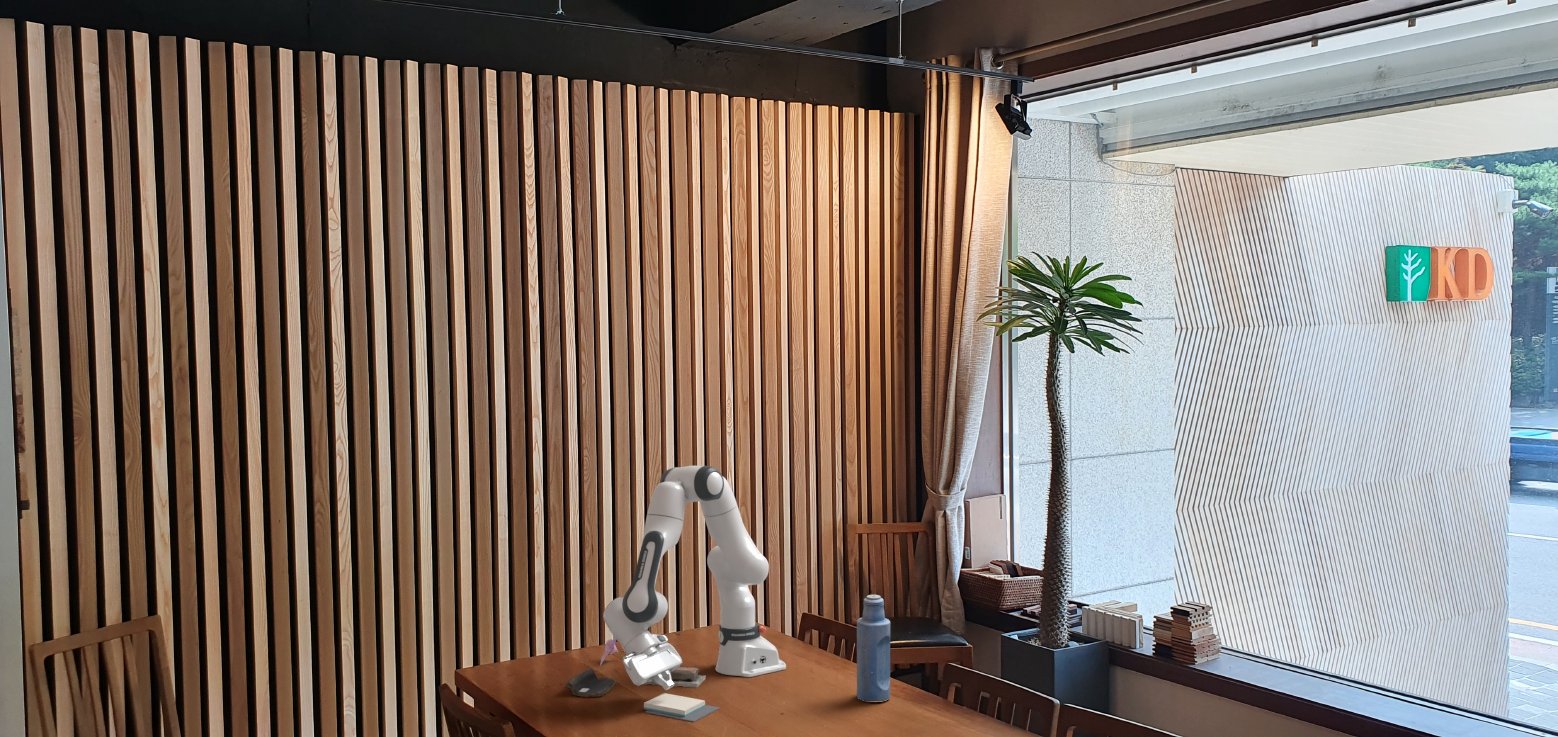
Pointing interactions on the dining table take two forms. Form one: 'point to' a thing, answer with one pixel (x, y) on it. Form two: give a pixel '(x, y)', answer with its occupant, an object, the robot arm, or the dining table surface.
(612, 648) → the lily
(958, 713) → the dining table surface
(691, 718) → the mat
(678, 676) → the packaged product
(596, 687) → the pottery fragment
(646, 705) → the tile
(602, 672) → the dining table surface
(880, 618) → the bottle
